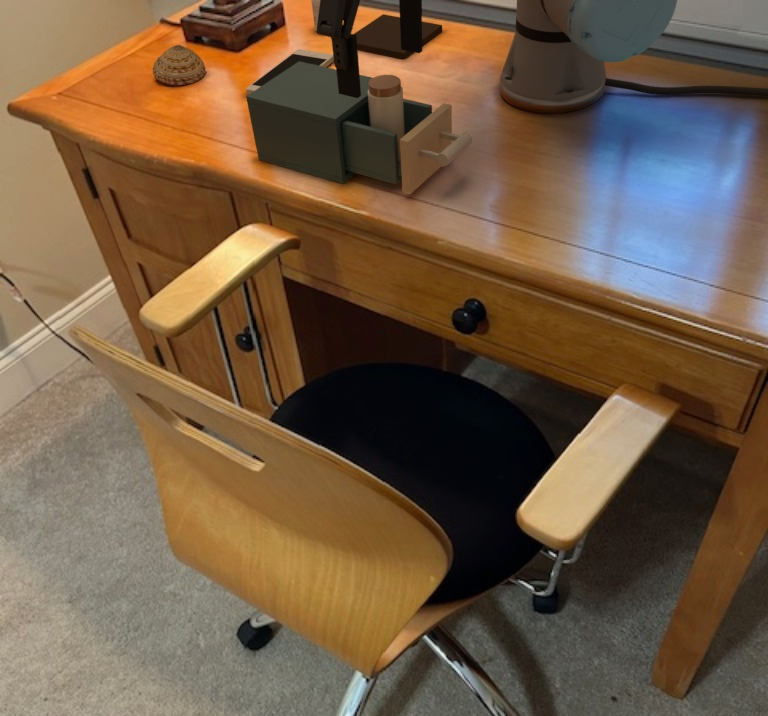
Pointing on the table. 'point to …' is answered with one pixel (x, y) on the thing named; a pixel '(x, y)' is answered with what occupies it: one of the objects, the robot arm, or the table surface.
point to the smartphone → (292, 59)
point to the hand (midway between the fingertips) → (381, 72)
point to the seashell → (178, 66)
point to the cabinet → (304, 120)
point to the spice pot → (387, 105)
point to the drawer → (402, 145)
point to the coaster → (390, 36)
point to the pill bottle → (315, 11)
